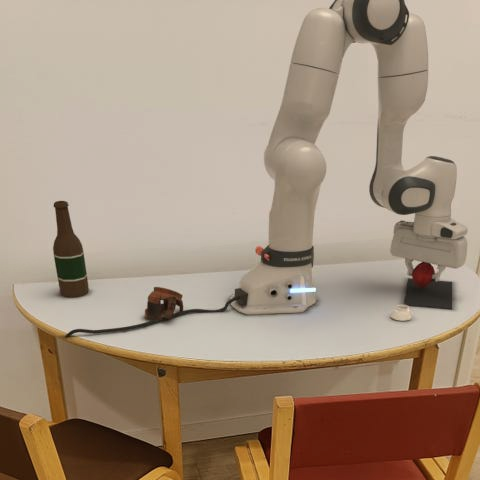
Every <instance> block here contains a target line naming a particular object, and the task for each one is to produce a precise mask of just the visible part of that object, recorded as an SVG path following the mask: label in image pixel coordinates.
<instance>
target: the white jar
mask: <svg viewBox="0 0 480 480" xmlns="http://www.w3.org/2000/svg"><path fill="white" fill-rule="evenodd" d="M390 317H391V318H392V319H393V320H395V321H399V322H405V321H409V320H411V319H412V317H413V314H412V312H411V309H410V306H407V305H404V304H397V305H395V308H394V309H393V310H392V311H391V313H390Z"/></svg>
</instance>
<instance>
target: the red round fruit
mask: <svg viewBox="0 0 480 480" xmlns="http://www.w3.org/2000/svg"><path fill="white" fill-rule="evenodd" d="M413 268H414V270H413V273H412V276H411V279H413V281H414V282H415V284H416V285H417V286H419V287H420V288H424V287H425V286H427V285H429V284H430V283H431V282H432V280H431V279H432V274H434V273H436V271H435V267H434V265H433V264H430V263H426V262H419V263H418V264H416V266H415V267H413Z"/></svg>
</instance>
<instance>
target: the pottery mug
mask: <svg viewBox="0 0 480 480" xmlns="http://www.w3.org/2000/svg"><path fill="white" fill-rule="evenodd" d="M182 298H183V294H182V293H180V292H178V291H175V290H173V289H170V288H166V287H161V286H154V287H153V290H152V291H151V292H150V293H149V294H148V296H147V305H146V308H145V309H144V318H145V319H149V320H150V321H152V320H155V319H161V318H162V317H165V318H166V319H167V320H170V319H172V317H173V314H174V313H175V310H176V308H177V307H179V308H178V309H179V312H181V311H184V303H183V302H184V301H183V300H182ZM162 302H163V303H162ZM176 306H177V307H176ZM169 318H170V319H169ZM173 318H174V317H173ZM159 323H162V321H160V322H159Z"/></svg>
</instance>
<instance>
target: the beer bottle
mask: <svg viewBox="0 0 480 480" xmlns="http://www.w3.org/2000/svg"><path fill="white" fill-rule="evenodd" d="M69 205H70V204H69V202H68V201H66V200H57V201H55V202H54V203H53V208H54V209H55V211H54V212H55V220H56V221H55V222H56V237H55V239H54V241H53V246H52V251H53V258H54V265H55V270H56V275H57V282H58V287H59V292H60V295H61V296H63V297H65V298H79V297H83V296H86V295H87V294H88V292H89V291H90V290H89V289H90V288H89V280H88V273H87V266H86V259H85V252H84V248H83V244H82V242H81V240H80V238H79V237H78V236H77V235H76V233H75V232H74V229H73V224H72V220H71V216H70V211H69Z"/></svg>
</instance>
